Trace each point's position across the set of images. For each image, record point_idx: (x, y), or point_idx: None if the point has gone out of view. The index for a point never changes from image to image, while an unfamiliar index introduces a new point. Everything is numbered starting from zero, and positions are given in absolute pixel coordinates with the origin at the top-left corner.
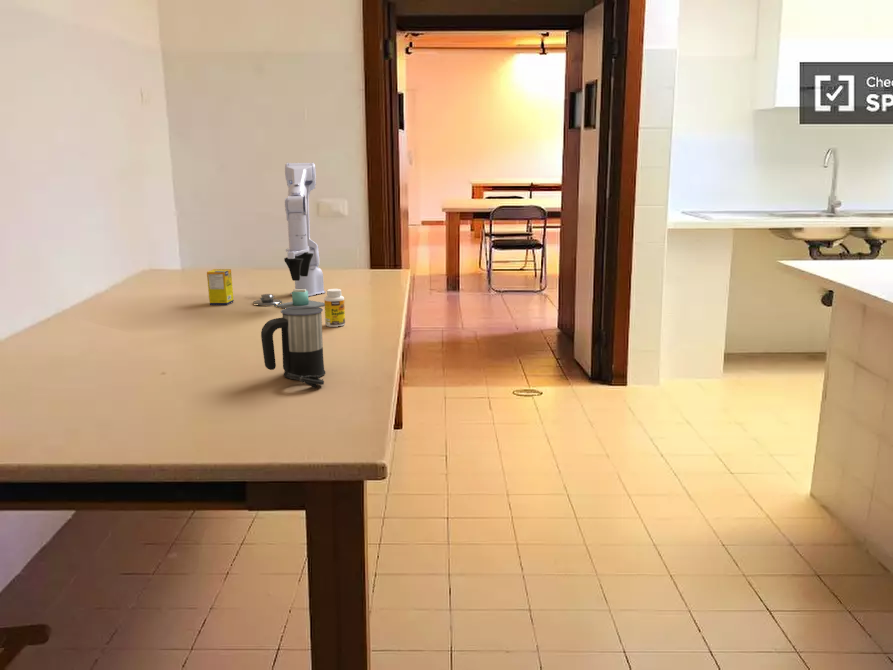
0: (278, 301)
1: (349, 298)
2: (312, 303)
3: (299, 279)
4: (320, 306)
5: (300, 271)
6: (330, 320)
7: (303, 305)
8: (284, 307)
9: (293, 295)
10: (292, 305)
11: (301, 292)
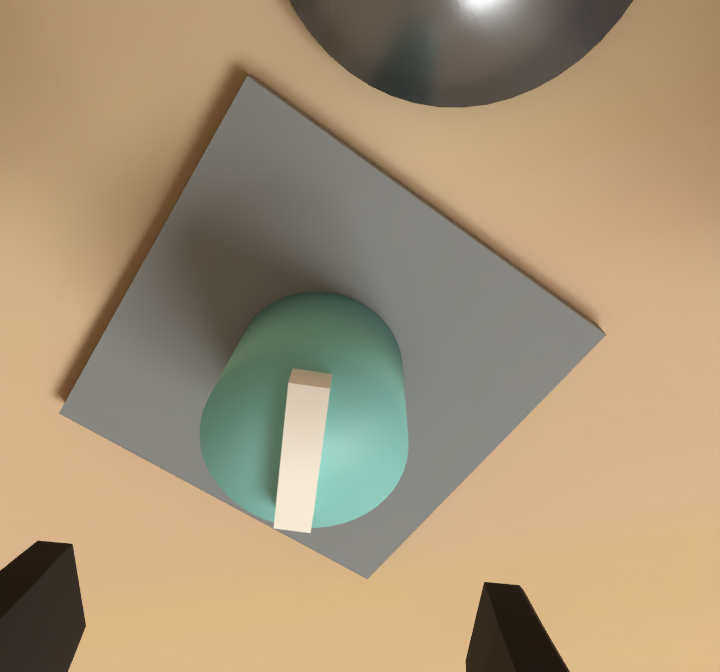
0: (468, 64)
1: (651, 658)
2: None
3: (73, 640)
4: None
5: (505, 664)
6: None
7: None
8: (159, 234)
9: (227, 368)
10: (248, 301)
11: (241, 476)
